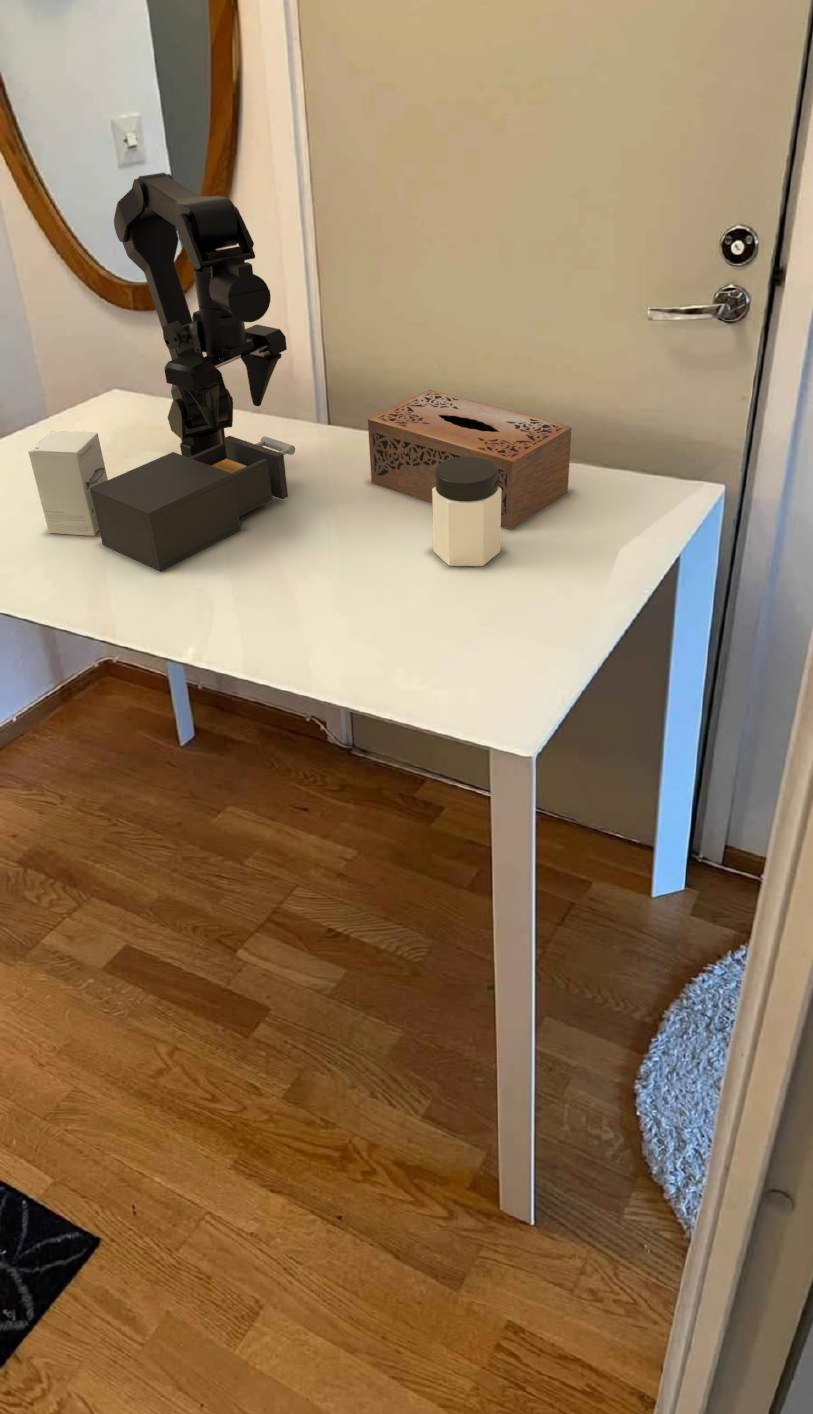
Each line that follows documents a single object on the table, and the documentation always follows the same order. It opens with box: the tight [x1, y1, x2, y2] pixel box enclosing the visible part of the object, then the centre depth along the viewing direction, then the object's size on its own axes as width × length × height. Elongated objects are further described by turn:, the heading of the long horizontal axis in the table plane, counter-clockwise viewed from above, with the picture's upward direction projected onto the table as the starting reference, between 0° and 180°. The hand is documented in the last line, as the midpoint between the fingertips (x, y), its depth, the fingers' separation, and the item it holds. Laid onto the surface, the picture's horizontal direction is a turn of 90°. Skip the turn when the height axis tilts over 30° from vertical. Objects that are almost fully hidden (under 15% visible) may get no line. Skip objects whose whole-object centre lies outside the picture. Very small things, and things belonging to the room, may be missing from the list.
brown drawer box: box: [90, 451, 242, 572], centre depth 148 cm, size 15×13×9 cm
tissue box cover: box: [367, 389, 573, 530], centre depth 157 cm, size 26×14×10 cm, turn 50°
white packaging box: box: [27, 430, 109, 537], centre depth 151 cm, size 7×7×13 cm
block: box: [212, 459, 247, 473], centre depth 154 cm, size 4×4×4 cm
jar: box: [431, 457, 502, 567], centre depth 140 cm, size 9×8×12 cm
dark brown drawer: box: [189, 435, 296, 518], centre depth 155 cm, size 18×11×7 cm, turn 140°
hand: (235, 416), depth 151 cm, fingers open, 9 cm apart
